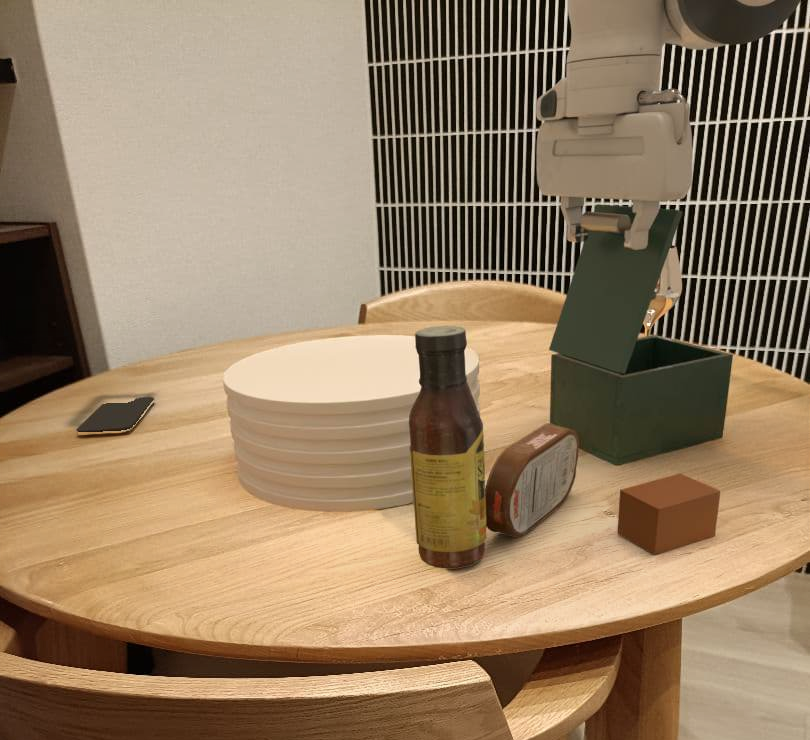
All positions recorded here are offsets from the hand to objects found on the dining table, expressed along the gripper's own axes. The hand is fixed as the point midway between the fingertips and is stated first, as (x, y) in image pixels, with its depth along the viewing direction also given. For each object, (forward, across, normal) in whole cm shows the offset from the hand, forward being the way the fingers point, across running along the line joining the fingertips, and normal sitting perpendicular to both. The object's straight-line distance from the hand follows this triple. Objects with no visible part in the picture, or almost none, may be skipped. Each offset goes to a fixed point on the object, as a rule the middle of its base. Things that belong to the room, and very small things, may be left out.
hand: (605, 245), depth 86 cm
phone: (+22, +46, +47) cm, 70 cm away
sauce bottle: (+22, -15, +28) cm, 39 cm away
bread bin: (+22, 0, -6) cm, 23 cm away
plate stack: (+22, +11, +25) cm, 35 cm away
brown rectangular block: (+22, -22, +9) cm, 33 cm away
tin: (+22, -13, +17) cm, 31 cm away
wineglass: (+22, +19, -24) cm, 38 cm away
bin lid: (+4, 0, -1) cm, 5 cm away
